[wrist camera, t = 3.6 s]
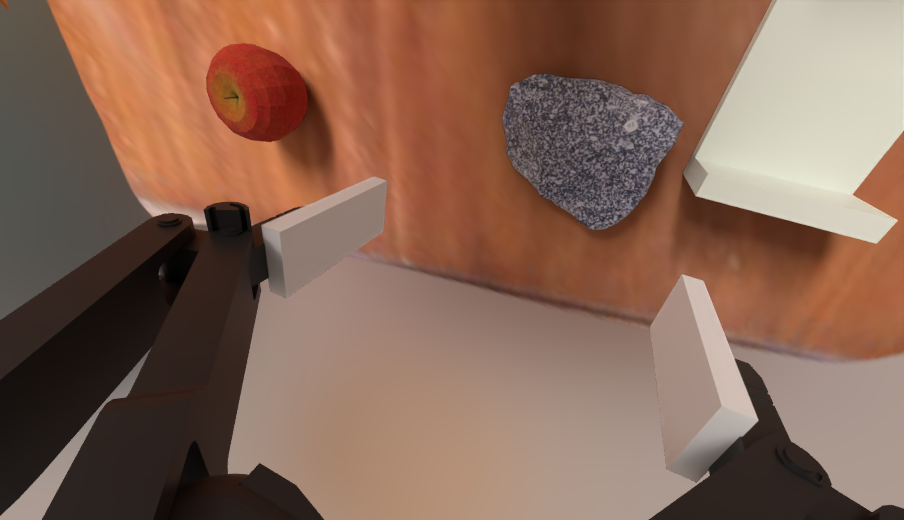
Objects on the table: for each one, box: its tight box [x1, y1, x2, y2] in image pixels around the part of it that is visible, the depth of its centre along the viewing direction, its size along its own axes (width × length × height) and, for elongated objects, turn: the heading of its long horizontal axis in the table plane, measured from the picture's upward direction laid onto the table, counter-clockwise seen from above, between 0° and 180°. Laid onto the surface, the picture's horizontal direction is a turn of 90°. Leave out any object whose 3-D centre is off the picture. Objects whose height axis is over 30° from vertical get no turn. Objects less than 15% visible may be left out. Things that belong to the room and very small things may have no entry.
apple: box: [206, 43, 308, 142], centre depth 32 cm, size 8×8×8 cm
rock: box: [502, 74, 683, 230], centre depth 26 cm, size 12×5×10 cm
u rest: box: [683, 0, 904, 244], centre depth 18 cm, size 9×17×6 cm, turn 170°
